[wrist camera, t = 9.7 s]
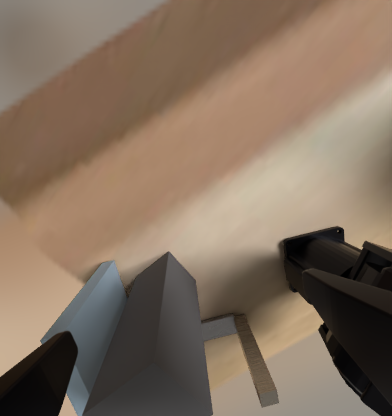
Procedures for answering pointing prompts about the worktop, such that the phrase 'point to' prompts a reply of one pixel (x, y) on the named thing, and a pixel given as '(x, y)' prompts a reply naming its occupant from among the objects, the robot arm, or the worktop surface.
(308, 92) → the worktop surface
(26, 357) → the robot arm
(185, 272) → the block
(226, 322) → the door frame
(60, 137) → the worktop surface
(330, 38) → the worktop surface
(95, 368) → the door
